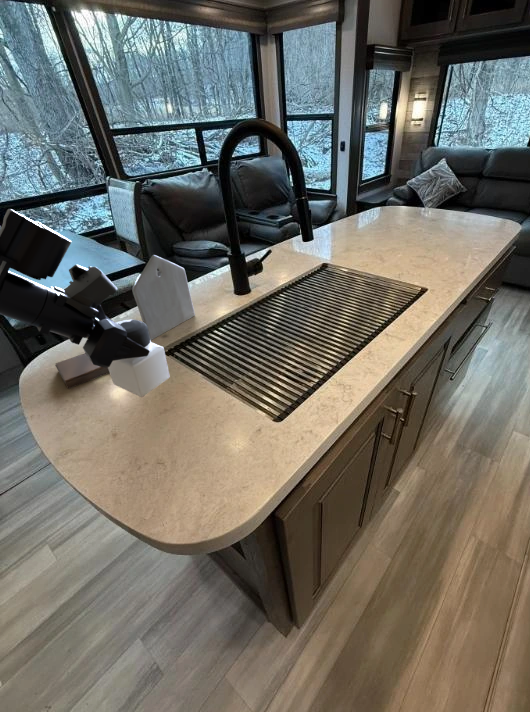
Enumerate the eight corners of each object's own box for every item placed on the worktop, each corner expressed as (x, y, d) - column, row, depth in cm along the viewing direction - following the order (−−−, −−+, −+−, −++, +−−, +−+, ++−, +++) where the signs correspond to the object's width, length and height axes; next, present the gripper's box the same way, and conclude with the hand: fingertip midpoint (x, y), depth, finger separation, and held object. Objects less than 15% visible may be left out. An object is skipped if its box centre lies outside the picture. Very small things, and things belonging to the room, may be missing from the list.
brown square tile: (68, 388, 70) (64, 381, 69) (58, 370, 76) (54, 363, 75) (112, 371, 75) (108, 364, 74) (99, 355, 80) (96, 348, 79)
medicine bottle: (171, 377, 64) (159, 322, 56) (142, 398, 59) (124, 341, 51) (143, 365, 66) (128, 311, 59) (113, 384, 61) (92, 328, 53)
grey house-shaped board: (176, 309, 100) (158, 242, 88) (195, 315, 96) (179, 246, 84) (130, 333, 89) (102, 259, 77) (150, 340, 86) (124, 265, 73)
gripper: (84, 272, 40) (186, 324, 53) (48, 241, 51) (140, 290, 64) (41, 350, 41) (152, 383, 54) (15, 303, 52) (113, 339, 65)
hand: (139, 344), depth 59 cm, fingers closed on medicine bottle, 7 cm apart
